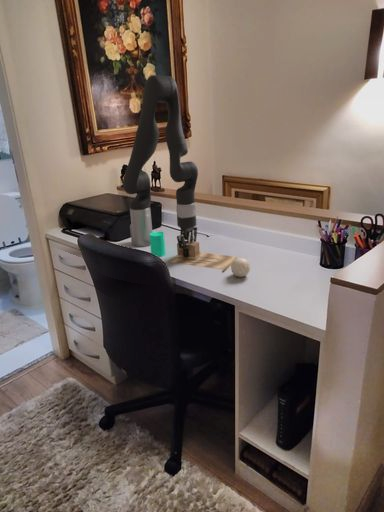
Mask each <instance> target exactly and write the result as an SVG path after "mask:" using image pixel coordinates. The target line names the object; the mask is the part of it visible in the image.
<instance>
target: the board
mask: <svg viewBox="0 0 384 512" xmlns="http://www.w3.org/2000/svg"><path fill="white" fill-rule="evenodd" d="M199 252H200V257H198V258H197V259H196V260H193V259H186V258H178V254H177V255H175V256H173V258H171V259H170V260H168V263H175V264H181V265H188V266H194V267H195V266H196V267H203V268H208V269H209V268H210V269H216V270H217V269H218V270H222V271H221V273H225V272H226V271H228V269H229V268H231V264H232V262H233V261H234V260H235V259H237V256H235V255H224V254H218V253H209V252H202V251H199Z"/></svg>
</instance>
